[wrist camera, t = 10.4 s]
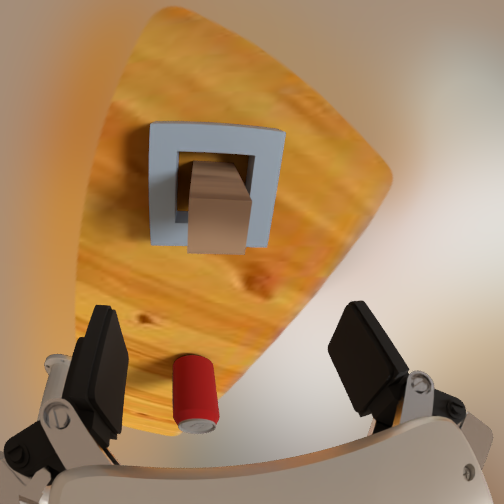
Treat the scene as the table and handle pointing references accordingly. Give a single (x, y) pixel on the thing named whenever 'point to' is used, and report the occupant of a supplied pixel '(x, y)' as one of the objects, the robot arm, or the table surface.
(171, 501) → the robot arm
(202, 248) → the walnut peg
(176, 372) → the beverage can
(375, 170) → the table surface
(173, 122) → the grey square frame
